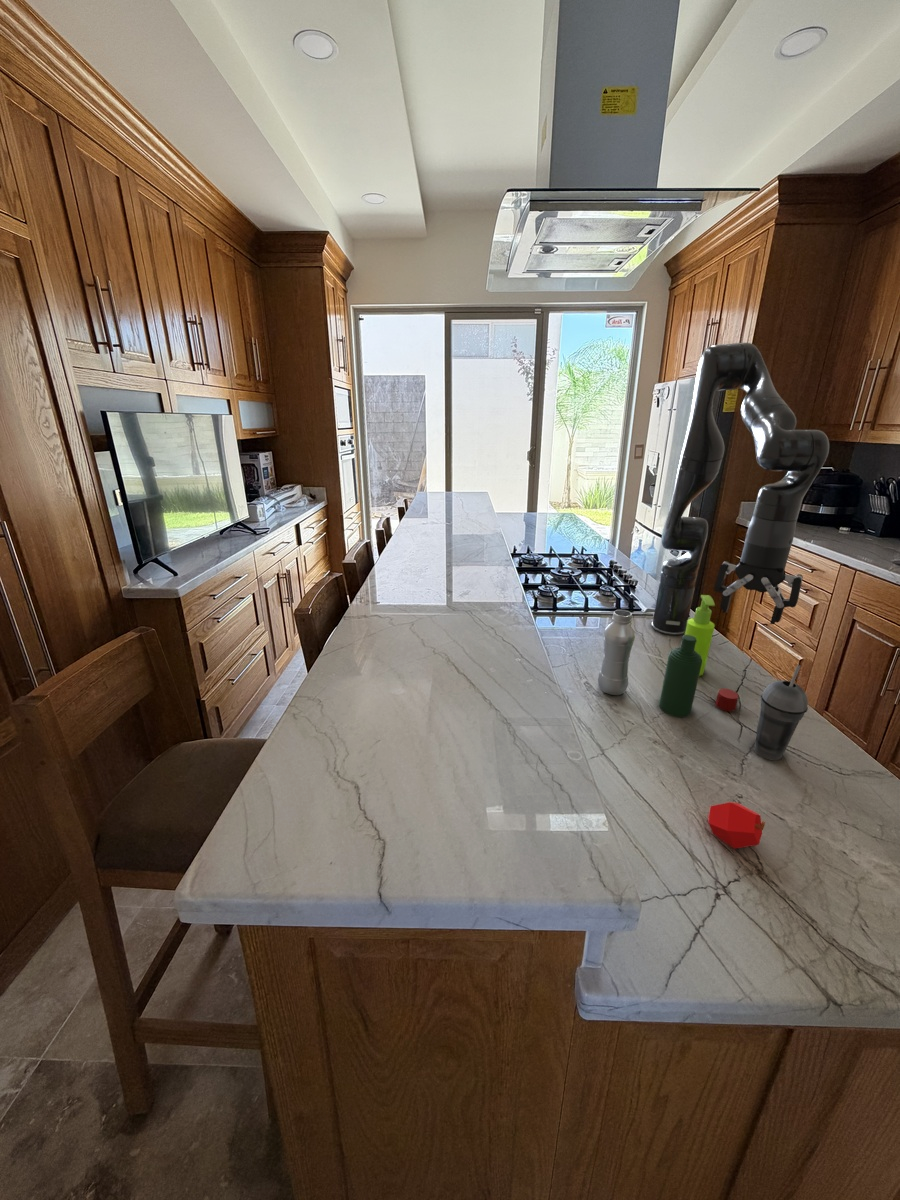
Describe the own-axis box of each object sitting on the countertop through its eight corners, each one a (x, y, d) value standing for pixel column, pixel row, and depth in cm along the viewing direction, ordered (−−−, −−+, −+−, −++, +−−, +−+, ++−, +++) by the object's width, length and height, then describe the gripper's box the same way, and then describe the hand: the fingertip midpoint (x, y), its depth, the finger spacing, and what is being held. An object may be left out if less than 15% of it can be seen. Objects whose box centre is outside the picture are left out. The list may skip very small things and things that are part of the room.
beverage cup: (782, 743, 96) (812, 654, 88) (796, 768, 89) (829, 675, 81) (741, 737, 97) (766, 649, 90) (752, 761, 91) (780, 669, 83)
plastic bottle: (628, 700, 109) (641, 620, 101) (597, 696, 111) (608, 618, 103) (624, 684, 115) (637, 608, 107) (595, 681, 116) (605, 605, 109)
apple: (697, 804, 75) (757, 816, 69) (711, 788, 79) (768, 797, 74) (703, 848, 75) (763, 863, 69) (717, 829, 79) (774, 842, 74)
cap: (722, 699, 109) (726, 686, 108) (739, 708, 106) (742, 695, 105) (711, 703, 108) (714, 691, 107) (727, 713, 105) (731, 700, 103)
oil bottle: (663, 696, 111) (677, 628, 104) (693, 706, 107) (709, 636, 100) (655, 709, 106) (669, 639, 99) (686, 720, 102) (702, 648, 95)
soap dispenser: (681, 676, 118) (697, 601, 110) (676, 662, 124) (690, 590, 117) (707, 679, 117) (725, 604, 109) (700, 665, 123) (717, 592, 115)
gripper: (816, 542, 90) (792, 620, 97) (731, 530, 99) (714, 602, 105) (811, 552, 85) (786, 634, 92) (722, 538, 93) (705, 614, 100)
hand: (748, 617), depth 98 cm, fingers open, 8 cm apart
